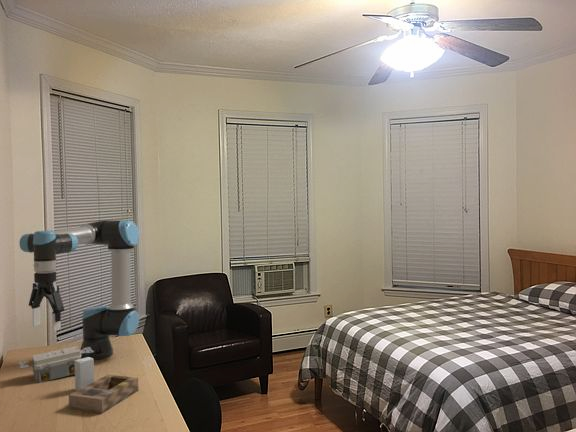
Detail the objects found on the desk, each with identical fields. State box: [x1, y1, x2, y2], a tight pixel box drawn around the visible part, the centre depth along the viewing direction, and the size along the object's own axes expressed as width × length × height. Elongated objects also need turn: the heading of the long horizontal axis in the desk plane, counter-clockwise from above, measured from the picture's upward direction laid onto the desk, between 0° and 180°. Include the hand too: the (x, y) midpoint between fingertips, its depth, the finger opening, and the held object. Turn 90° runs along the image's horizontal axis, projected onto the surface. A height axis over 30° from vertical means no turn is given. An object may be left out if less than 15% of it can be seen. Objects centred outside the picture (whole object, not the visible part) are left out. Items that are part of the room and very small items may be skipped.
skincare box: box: [74, 357, 95, 392], centre depth 199 cm, size 6×4×12 cm
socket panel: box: [68, 374, 139, 415], centre depth 190 cm, size 22×14×5 cm, turn 163°
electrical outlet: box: [17, 345, 94, 383], centre depth 215 cm, size 12×28×10 cm, turn 123°
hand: (46, 327), depth 192 cm, fingers open, 13 cm apart
